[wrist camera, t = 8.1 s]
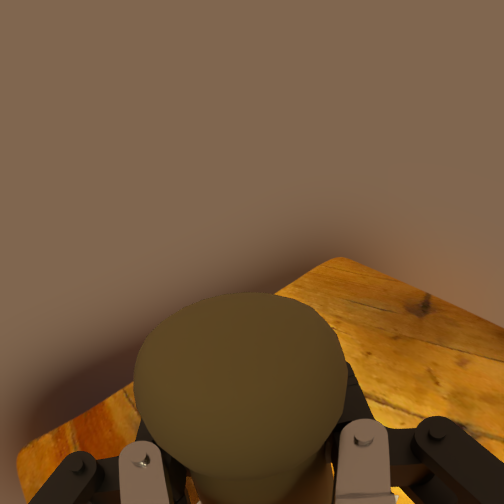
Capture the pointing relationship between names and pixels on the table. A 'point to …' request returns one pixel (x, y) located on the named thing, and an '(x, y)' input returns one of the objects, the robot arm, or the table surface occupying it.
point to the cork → (245, 397)
